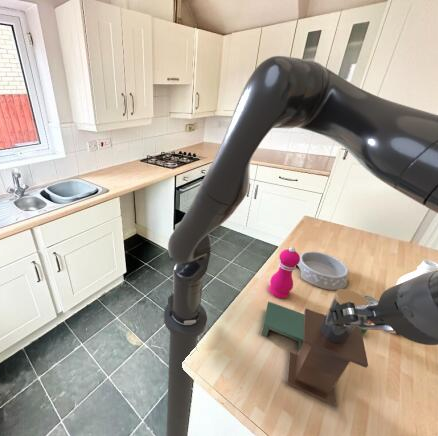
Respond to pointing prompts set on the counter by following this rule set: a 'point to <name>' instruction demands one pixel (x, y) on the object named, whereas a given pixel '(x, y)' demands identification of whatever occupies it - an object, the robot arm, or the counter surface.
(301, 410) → the counter surface
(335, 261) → the dog bowl
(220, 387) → the counter surface
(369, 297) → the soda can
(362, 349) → the wooden pedestal table
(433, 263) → the water bottle
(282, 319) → the low shelf
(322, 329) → the spice jar
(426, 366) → the counter surface
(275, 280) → the pepper mill
